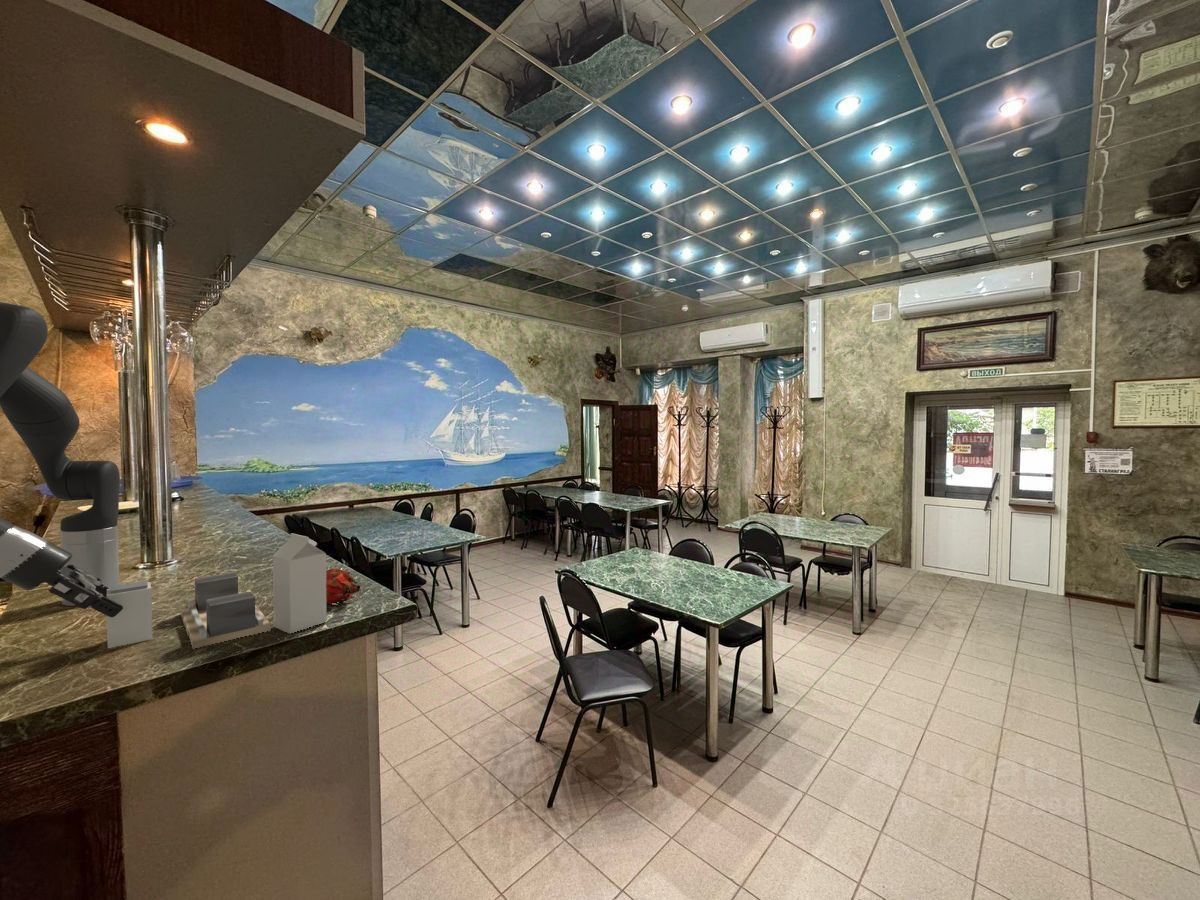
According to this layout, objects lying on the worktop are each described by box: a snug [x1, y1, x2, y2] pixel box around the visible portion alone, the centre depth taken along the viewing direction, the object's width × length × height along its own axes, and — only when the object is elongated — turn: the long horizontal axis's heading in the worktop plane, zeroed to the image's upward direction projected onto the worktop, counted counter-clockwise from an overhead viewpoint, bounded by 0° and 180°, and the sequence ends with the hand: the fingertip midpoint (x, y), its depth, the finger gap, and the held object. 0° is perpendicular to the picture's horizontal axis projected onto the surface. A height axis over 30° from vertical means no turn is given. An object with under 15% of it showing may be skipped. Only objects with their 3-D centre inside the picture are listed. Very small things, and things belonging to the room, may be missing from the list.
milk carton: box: [272, 532, 327, 635], centre depth 98 cm, size 7×7×19 cm
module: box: [106, 580, 153, 649], centre depth 91 cm, size 5×6×11 cm
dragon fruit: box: [326, 567, 361, 605], centre depth 112 cm, size 8×8×12 cm
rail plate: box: [179, 571, 272, 650], centre depth 100 cm, size 24×12×8 cm, turn 46°
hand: (118, 606), depth 90 cm, fingers open, 8 cm apart
